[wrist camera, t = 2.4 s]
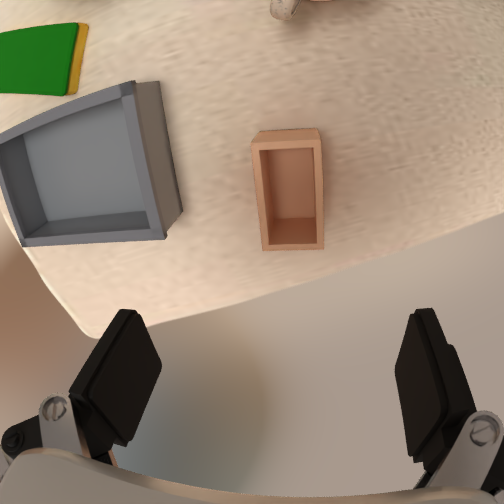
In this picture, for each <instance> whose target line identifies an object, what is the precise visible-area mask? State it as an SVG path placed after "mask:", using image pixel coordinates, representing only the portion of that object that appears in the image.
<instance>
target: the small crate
mask: <svg viewBox="0 0 504 504" xmlns="http://www.w3.org/2000/svg"><path fill="white" fill-rule="evenodd" d="M250 144H251V153H252V161H253V170H254V178H255V187H256V195H257V204H258V213H259V222H260V231H261V240H262V249H263V251H279V250H319V249H324V209H323V174H322V151H321V139H320V136H319V133H318V130H317V128H309V129H288V130H272V131H260V132H259V133H258V134H257V135H256V137H255V138H254V139H253V141H252V142H251V143H250Z"/></svg>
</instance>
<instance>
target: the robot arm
mask: <svg viewBox="0 0 504 504" xmlns="http://www.w3.org/2000/svg"><path fill="white" fill-rule="evenodd" d="M161 369H162V363H161V360H160V358H159V356H158V354H157V351H156V349H155V347H154V345H153V342H152V340H151V338H150V335H149V333H148V331H147V328H146V326H145V324H144V321H143V319H142V317H141V315H140V314H138V313H137V311H136V310H130V309H120V310H119V311H118V312H117V314H116V315H115V317H114V318H113V320H112V321H111V323H110V325H109V326H108V328H107V329H106V331H105V332H104V334H103V335H102V337H101V338H100V340H99V342H98V343H97V345H96V346H95V348H94V350H93V351H92V353H91V355H90V356H89V358H88V359H87V361H86V362H85V364H84V366H83V368H82V369H81V371H80V372H79V374H78V376H77V378H76V379H75V381H74V383H73V384H72V386H71V387H70V389H69V393H70V394H69V396H67V395H65V394H63V393H55V394H51V395H50V396H48V397H47V398H45V399H44V400H43V402H42V404H41V405H40V408H39V415H37V416H35V417H32V418H30V419H28V420H25V421H23V422H21V423H19V424H16V425H14V426H11V427H10V428H8V429H7V430H6V431H5V433H4V434H3V436H2V441H1V445H0V504H504V435H503V434H504V428H503V424H502V422H501V420H500V419H499V417H498V416H497V415H495V414H494V413H492V412H489V411H478V412H477V410H476V407H475V403H474V400H473V397H472V394H471V391H470V388H469V385H468V382H467V379H466V376H465V374H464V371H463V368H462V366H461V363H460V360H459V357H458V355H457V352H456V350H455V348H454V346H453V345H451V344H448V343H447V341H446V338H445V336H444V333H443V331H442V328H441V326H440V323H439V321H438V319H437V317H436V314H435V312H434V310H433V309H432V308H424V309H416V310H415V313H414V314H410V316H409V320H408V324H407V328H406V331H405V335H404V338H403V342H402V345H401V348H400V352H399V355H398V358H397V362H396V365H395V377H396V382H397V387H398V393H399V399H400V404H401V409H402V416H403V422H404V429H405V436H406V443H407V450H408V455H409V456H410V457H411V456H413V461H414V463H418V462H423V466H424V470H426V471H425V472H424V474H423V475H422V477H421V478H420V479H419V481H418V482H417V484H416V485H415V487H414V488H413V489H412V490H403V491H396V492H388V493H380V494H368V495H355V496H340V497H279V496H262V495H251V494H241V493H232V492H225V491H218V490H210V489H205V488H199V487H194V486H188V485H184V484H179V483H174V482H169V481H165V480H161V479H157V478H153V477H149V476H145V475H142V474H138V473H135V472H131V471H128V470H124V469H121V468H119V467H118V465H117V462H116V459H115V457H114V454H113V451H112V446H113V443H114V444H117V445H120V446H124V447H126V446H127V444H128V442H129V441H131V440H132V439H133V437H134V435H135V432H136V430H137V427H138V425H139V422H140V420H141V417H142V415H143V413H144V410H145V408H146V405H147V403H148V401H149V398H150V396H151V393H152V391H153V389H154V386H155V384H156V381H157V379H158V377H159V374H160V372H161Z"/></svg>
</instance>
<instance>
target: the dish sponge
mask: <svg viewBox="0 0 504 504" xmlns="http://www.w3.org/2000/svg"><path fill="white" fill-rule="evenodd" d="M88 28H89V27H88V25H87V24H84V23H63V24H53V25H44V26H37V27H30V28H24V29H18V30H13V31H8V32H3V33H0V93H17V94H39V95H53V96H64V95H70V94H75V93H76V92H77V90H78V82H79V76H80V69H81V63H82V58H83V52H84V47H85V42H86V37H87V33H88Z"/></svg>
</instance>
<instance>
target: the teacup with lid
mask: <svg viewBox="0 0 504 504" xmlns="http://www.w3.org/2000/svg"><path fill="white" fill-rule="evenodd" d="M312 1H331V0H312ZM300 2H301V0H271V5H270V12H271V15H272V16H273V17H274V18H276V19H280V20H283V21H287V20H289V19H291V18H292V17H293V15H294V14H295V12H296V10H297V8H298V6H299V4H300Z"/></svg>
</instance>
